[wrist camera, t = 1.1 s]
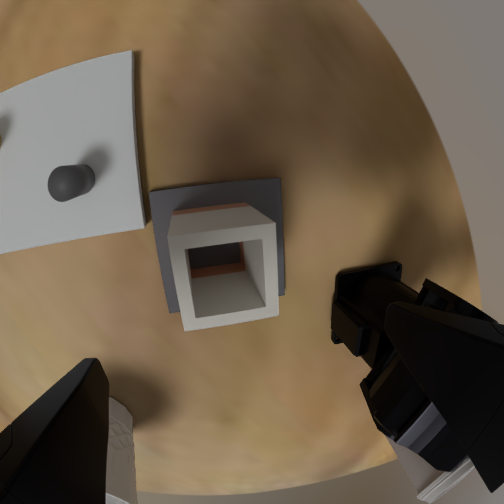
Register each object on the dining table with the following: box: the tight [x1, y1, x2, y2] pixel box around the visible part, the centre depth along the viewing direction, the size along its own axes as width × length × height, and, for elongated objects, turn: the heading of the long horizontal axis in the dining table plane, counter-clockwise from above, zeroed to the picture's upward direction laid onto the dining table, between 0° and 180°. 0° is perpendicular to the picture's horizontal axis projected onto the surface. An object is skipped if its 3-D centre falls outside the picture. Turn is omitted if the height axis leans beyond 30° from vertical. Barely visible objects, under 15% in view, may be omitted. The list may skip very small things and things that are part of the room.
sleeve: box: [167, 202, 279, 331], centre depth 15 cm, size 4×4×6 cm
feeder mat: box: [149, 178, 285, 313], centre depth 18 cm, size 8×8×1 cm
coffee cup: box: [385, 435, 475, 503], centre depth 25 cm, size 10×10×15 cm
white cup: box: [106, 397, 138, 504], centre depth 16 cm, size 8×8×10 cm
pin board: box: [0, 50, 146, 254], centre depth 12 cm, size 14×11×4 cm
